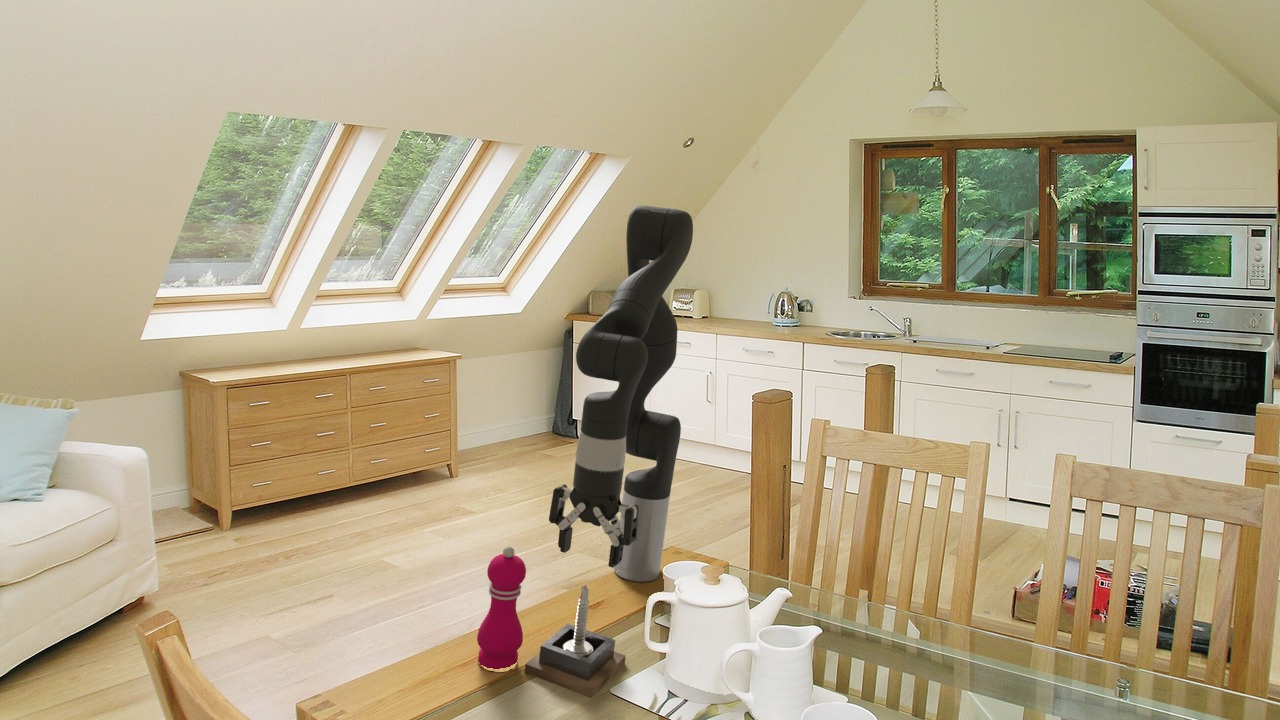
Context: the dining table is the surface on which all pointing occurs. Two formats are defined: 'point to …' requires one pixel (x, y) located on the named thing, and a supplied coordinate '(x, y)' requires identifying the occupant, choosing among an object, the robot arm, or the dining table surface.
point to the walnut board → (572, 681)
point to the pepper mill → (502, 612)
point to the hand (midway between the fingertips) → (588, 558)
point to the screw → (580, 628)
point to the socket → (572, 662)
